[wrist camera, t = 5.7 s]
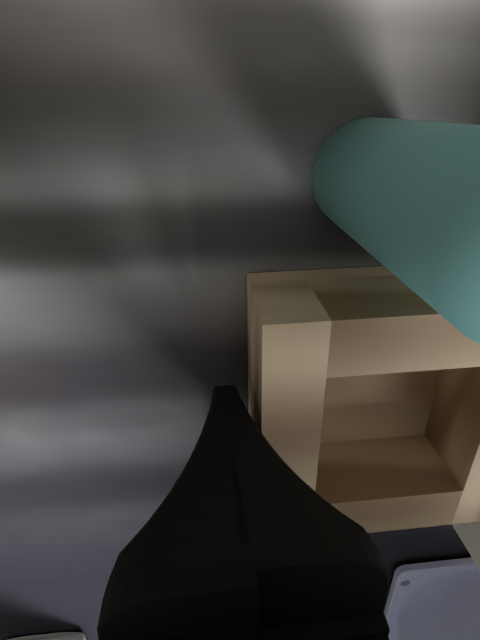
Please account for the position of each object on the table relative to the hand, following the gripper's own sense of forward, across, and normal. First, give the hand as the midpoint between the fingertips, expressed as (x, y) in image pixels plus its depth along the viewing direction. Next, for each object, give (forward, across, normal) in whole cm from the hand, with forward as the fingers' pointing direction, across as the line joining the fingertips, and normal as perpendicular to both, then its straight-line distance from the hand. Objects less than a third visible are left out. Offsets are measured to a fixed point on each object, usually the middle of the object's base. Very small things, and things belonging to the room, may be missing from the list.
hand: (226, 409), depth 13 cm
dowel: (+1, -4, -7) cm, 8 cm away
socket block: (+1, -5, 0) cm, 5 cm away
